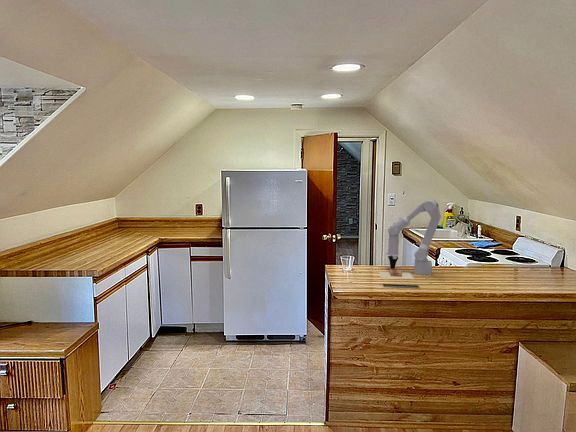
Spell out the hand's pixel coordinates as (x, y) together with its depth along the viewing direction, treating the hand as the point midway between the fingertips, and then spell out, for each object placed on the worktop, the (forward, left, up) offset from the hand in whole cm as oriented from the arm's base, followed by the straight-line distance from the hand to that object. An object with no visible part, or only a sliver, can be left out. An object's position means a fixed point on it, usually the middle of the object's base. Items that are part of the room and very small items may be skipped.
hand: (392, 268), depth 248 cm
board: (0, +12, -2) cm, 13 cm away
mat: (0, +26, -2) cm, 26 cm away
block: (0, +11, -1) cm, 11 cm away
